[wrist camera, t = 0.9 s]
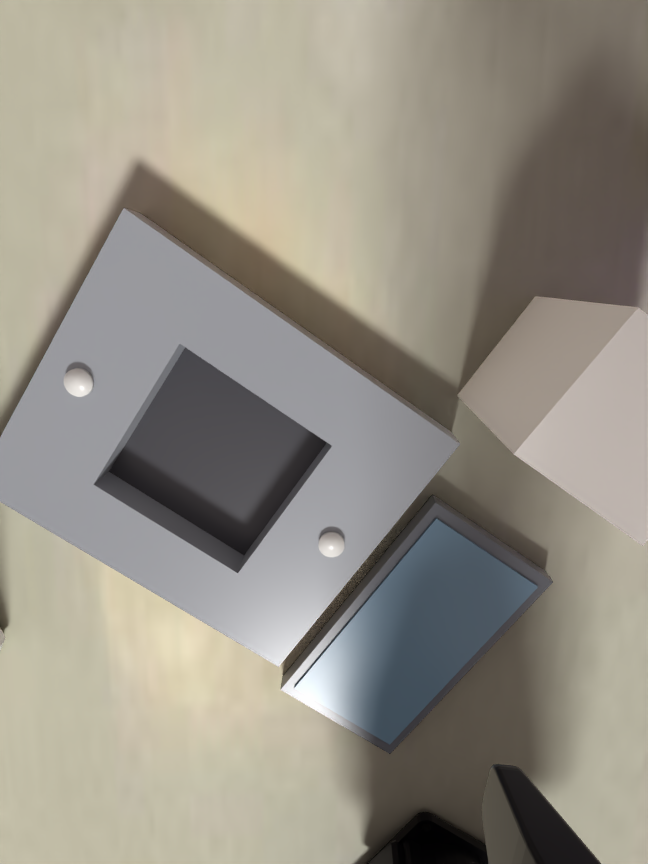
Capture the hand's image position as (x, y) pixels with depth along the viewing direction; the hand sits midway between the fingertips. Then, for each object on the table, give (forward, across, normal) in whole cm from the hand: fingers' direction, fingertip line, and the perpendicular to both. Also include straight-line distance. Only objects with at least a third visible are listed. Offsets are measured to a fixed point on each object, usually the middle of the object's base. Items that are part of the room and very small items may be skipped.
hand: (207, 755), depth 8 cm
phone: (+14, -6, +7) cm, 16 cm away
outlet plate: (+14, +3, 0) cm, 14 cm away
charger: (+14, -9, -4) cm, 17 cm away
